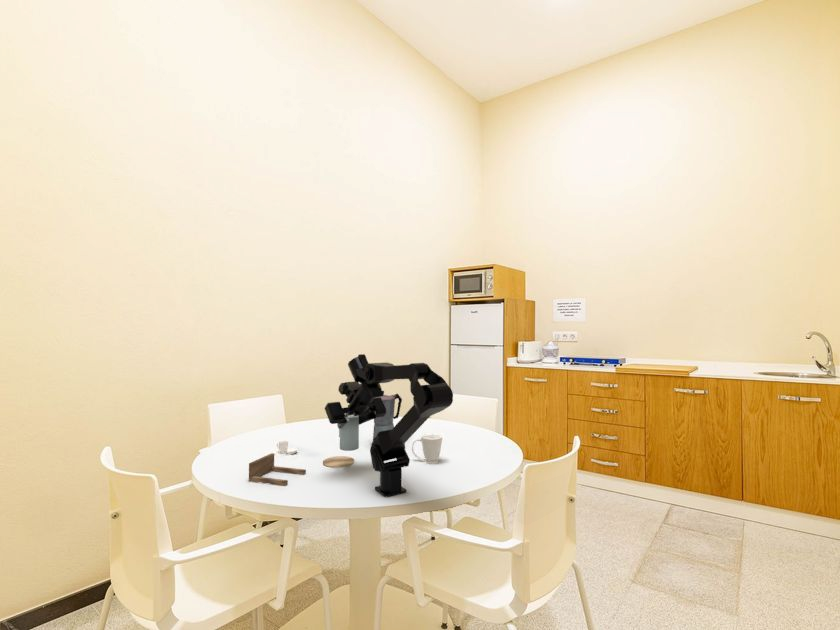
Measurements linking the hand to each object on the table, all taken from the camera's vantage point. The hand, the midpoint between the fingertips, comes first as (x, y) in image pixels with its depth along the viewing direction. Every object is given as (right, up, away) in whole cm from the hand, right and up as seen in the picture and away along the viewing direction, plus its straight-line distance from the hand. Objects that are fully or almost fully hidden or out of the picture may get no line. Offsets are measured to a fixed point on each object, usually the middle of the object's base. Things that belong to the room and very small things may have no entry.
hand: (347, 425), depth 132 cm
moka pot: (+10, -14, +26) cm, 31 cm away
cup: (+25, -13, +5) cm, 29 cm away
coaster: (-4, -13, +4) cm, 14 cm away
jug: (0, -7, 0) cm, 7 cm away
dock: (-18, -12, -10) cm, 24 cm away
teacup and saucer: (-24, -14, +12) cm, 30 cm away
